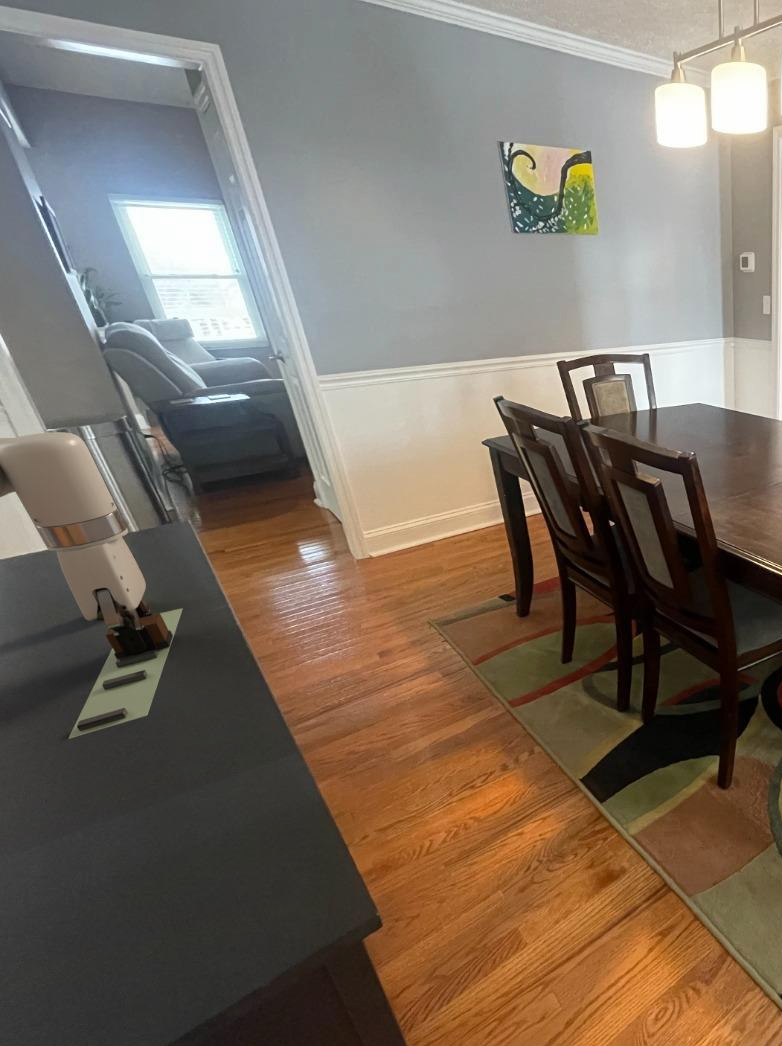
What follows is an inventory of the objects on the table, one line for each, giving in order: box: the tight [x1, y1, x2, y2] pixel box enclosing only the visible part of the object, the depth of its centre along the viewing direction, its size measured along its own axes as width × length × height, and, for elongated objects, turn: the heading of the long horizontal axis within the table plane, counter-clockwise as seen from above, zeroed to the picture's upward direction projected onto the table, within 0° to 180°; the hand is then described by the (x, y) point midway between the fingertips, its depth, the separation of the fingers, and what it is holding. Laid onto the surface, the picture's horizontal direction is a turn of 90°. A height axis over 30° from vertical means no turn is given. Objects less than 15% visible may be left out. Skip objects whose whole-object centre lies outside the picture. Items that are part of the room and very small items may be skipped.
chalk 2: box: [102, 670, 148, 690], centre depth 78 cm, size 4×1×1 cm, turn 125°
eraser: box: [105, 613, 174, 659], centre depth 84 cm, size 6×4×4 cm, turn 126°
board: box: [68, 607, 184, 740], centre depth 82 cm, size 7×32×1 cm, turn 35°
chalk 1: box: [115, 649, 158, 668], centre depth 82 cm, size 4×1×1 cm, turn 126°
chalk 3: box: [77, 708, 128, 731], centre depth 71 cm, size 4×1×1 cm, turn 125°
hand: (145, 646), depth 85 cm, fingers closed on eraser, 3 cm apart
